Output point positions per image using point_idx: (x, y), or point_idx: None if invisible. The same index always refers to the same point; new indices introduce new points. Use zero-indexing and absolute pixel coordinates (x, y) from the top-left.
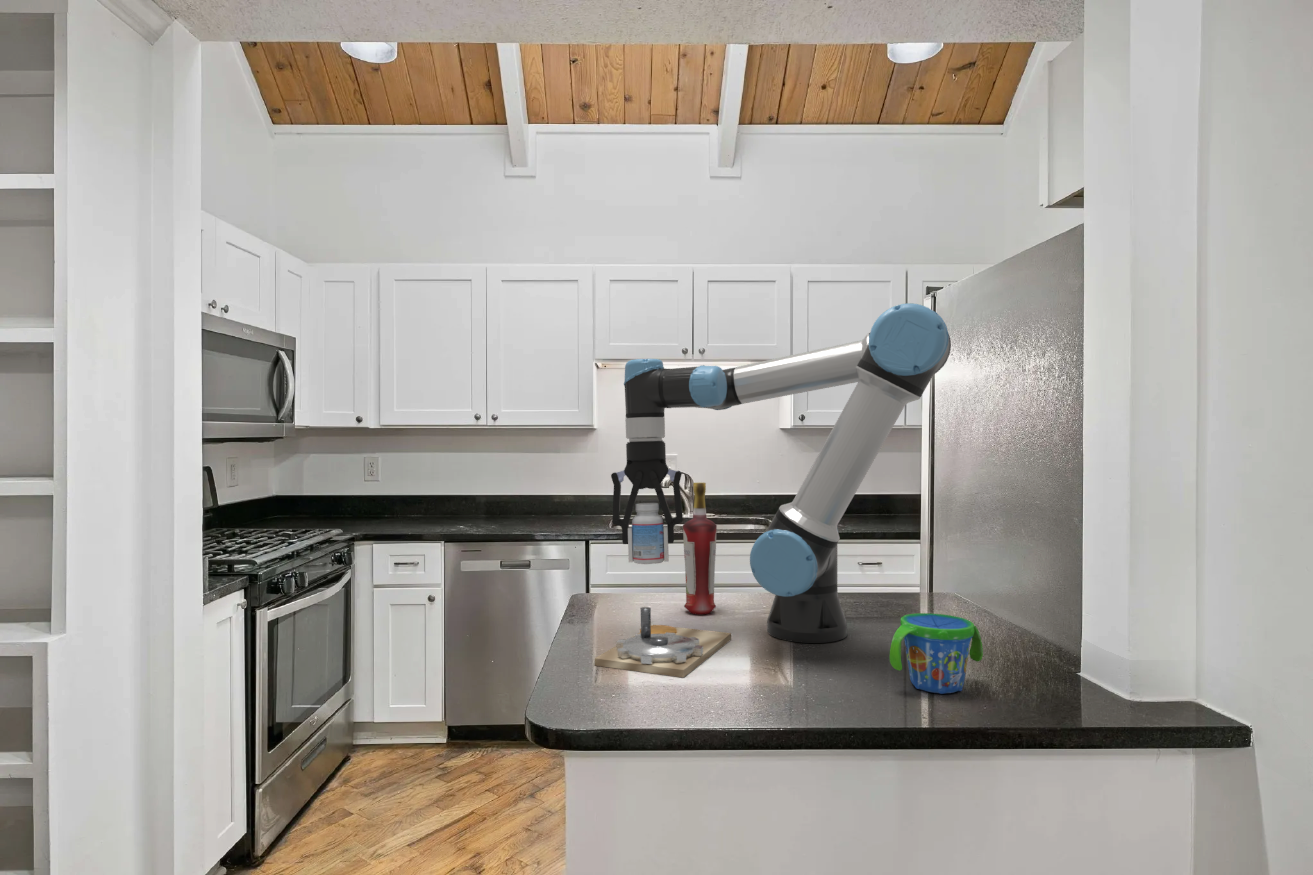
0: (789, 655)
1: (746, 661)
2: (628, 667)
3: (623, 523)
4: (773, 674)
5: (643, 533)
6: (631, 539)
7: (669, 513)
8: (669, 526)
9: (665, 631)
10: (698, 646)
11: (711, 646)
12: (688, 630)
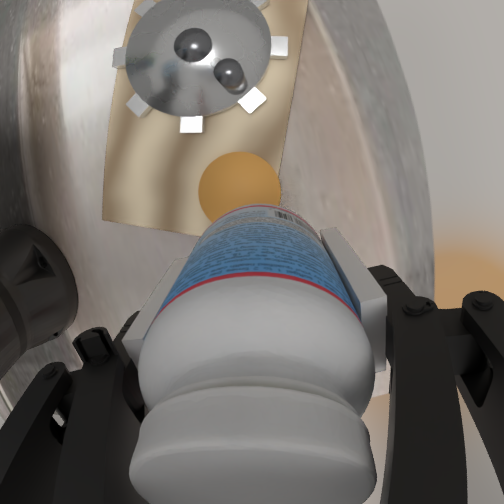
0: (24, 157)
1: (66, 100)
2: None
3: (427, 306)
4: (35, 63)
5: (259, 246)
6: (345, 268)
7: (75, 403)
8: (100, 330)
9: (219, 182)
10: (119, 59)
11: (113, 118)
12: (180, 217)
